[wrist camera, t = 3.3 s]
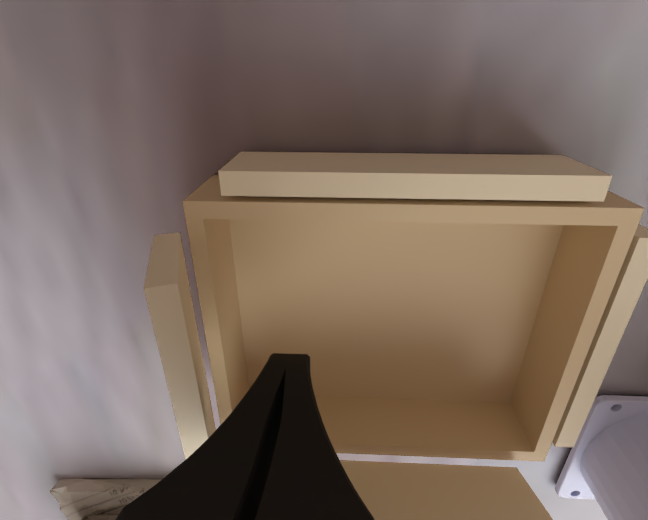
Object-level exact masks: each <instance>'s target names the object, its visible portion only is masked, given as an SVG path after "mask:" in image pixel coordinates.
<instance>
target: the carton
mask: <svg viewBox="0 0 648 520" xmlns="http://www.w3.org/2000/svg"><path fill="white" fill-rule="evenodd" d="M218 174H219V175H212V176H211V177H210V178H209V179H208V180H207V181H205V182H204V183H203V184H202V185H201V186H200V187H198V188H197V189H196V190H195V191H194V192H193V193H191V194H190V195H189V196H188V197H187V198H186V199H184V200H183V207H184V213H185V219H186V225H187V231H188V237H189V242H190V248H191V254H192V260H193V266H194V272H195V277H196V283H197V289H198V295H199V301H200V307H201V312H202V318H203V324H204V330H205V336H206V342H207V348H208V353H209V359H210V365H211V371H212V377H213V383H214V388H215V394H216V400H217V406H218V412H219V418H220V424H222V423H223V422H224V421H225V420H226V418H227V417H228V416H229V415H230V414H231V412H232V411H233V410H234V409H235V407H236V406H237V405H238V404H239V402H240V401H241V400H242V398H243V397H244V396H245V394H246V393H247V392H248V390H249V389H250V387H251V386H252V384H253V383H254V382H255V380H256V379H257V377H258V375H259V374H260V372H261V371H262V369H263V367H264V366H265V364H266V362H267V361H268V359H269V357H270V355H272V354H273V353H284V354H307V355H309V356H310V375H311V381H312V386H313V391H314V395H315V398H316V402H317V406H318V409H319V412H320V415H321V418H322V421H323V424H324V426H325V429H326V432H327V434H328V436H329V439H330V441H331V444H332V446H333V448H334V450H335V452H336V453H351V454H375V455H400V456H424V457H449V458H474V459H498V460H523V461H545V459H546V456H547V454H548V451H549V449H550V446H551V444H552V442H553V444H554V446H555V447H574V446H575V443H576V441H577V439H578V436H579V434H580V432H581V429H582V427H583V425H584V423H585V420H586V418H587V416H588V413H589V411H590V409H591V407H592V404H593V402H594V400H595V397H596V395H597V393H598V391H599V388H600V386H601V384H602V381H603V379H604V377H605V375H606V372H607V370H608V368H609V365H610V363H611V361H612V359H613V356H614V354H615V352H616V349H617V347H618V345H619V343H620V340H621V338H622V336H623V333H624V331H625V329H626V327H627V324H628V322H629V320H630V317H631V315H632V313H633V311H634V308H635V306H636V304H637V301H638V299H639V297H640V295H641V292H642V290H643V288H644V285H645V283H646V281H647V279H648V229H647V228H645V227H643V226H641V225H639V222H640V219H641V217H642V214H643V211H644V209H645V208H643V207H641V206H639V205H637V204H635V203H633V202H630V201H628V200H626V199H624V198H622V197H620V196H618V195H616V194H614V193H612V192H610V191H608V188H609V185H610V182H611V179H612V177H613V176H612V175H609V174H607V173H604V172H602V171H600V170H597V169H595V168H592V167H590V166H587V165H585V164H583V163H580V162H578V161H575V160H573V159H571V158H568V157H566V156H563V155H511V154H417V153H322V152H240V153H239V154H237V155H236V156H235V157H234V158H233V159H232V160H230V161H229V162H228V163H227V164H226V165H225V166H223V167H222V168H221V169H220V170H219V171H218Z"/></svg>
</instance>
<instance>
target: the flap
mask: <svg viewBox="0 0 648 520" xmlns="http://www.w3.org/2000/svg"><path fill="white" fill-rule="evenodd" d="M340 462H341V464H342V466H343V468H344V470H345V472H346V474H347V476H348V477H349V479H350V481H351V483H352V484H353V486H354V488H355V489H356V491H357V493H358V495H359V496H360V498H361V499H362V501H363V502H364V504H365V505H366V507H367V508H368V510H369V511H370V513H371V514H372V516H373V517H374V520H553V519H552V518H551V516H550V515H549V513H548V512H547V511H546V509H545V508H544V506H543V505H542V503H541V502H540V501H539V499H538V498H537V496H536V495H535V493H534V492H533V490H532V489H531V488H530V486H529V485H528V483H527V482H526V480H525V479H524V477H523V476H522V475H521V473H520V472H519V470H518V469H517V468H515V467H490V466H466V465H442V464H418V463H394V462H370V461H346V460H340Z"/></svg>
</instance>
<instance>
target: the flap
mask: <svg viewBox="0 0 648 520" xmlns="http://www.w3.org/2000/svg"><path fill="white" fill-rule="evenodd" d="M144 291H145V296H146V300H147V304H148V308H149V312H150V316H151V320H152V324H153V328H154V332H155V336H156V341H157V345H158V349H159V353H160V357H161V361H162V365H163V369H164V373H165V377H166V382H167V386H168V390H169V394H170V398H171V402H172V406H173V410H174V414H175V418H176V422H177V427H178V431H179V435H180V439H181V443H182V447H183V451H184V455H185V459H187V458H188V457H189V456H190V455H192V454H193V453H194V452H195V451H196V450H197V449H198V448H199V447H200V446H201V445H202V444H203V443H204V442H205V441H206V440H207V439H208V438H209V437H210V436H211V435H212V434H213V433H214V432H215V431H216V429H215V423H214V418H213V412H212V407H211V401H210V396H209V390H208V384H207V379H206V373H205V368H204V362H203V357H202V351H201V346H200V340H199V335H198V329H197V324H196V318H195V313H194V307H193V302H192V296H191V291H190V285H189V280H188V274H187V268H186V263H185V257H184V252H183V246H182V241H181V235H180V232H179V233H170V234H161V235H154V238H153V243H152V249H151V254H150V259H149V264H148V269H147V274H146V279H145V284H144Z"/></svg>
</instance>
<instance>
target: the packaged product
mask: <svg viewBox="0 0 648 520" xmlns="http://www.w3.org/2000/svg"><path fill="white" fill-rule="evenodd" d="M161 480H162V479H81V478H78V479H62V480H59V481H58V482H57V483H56V485H55V486H54V487H53V488H52V489H51V490H50V493H51V494H52V495H53V496H54V497H55V498H56V499H57V500H58V502H59V503H60V510H61V511H62V512H63V513H64V514H65V516H66V517H67V519H68V520H116V518H117V516H118V515H119V513H120V512H121V510H122V508H123V507H125V506H126V505H128V504H129V503H131V502H132V501H134V500H135V499H136V498H138V497H139V496H140V495H142V494H143V493H145V492H146V491H147V490H149V489H150V488H152V487H153V486H154V485H156V484H157V483H158V482H160V481H161Z"/></svg>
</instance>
